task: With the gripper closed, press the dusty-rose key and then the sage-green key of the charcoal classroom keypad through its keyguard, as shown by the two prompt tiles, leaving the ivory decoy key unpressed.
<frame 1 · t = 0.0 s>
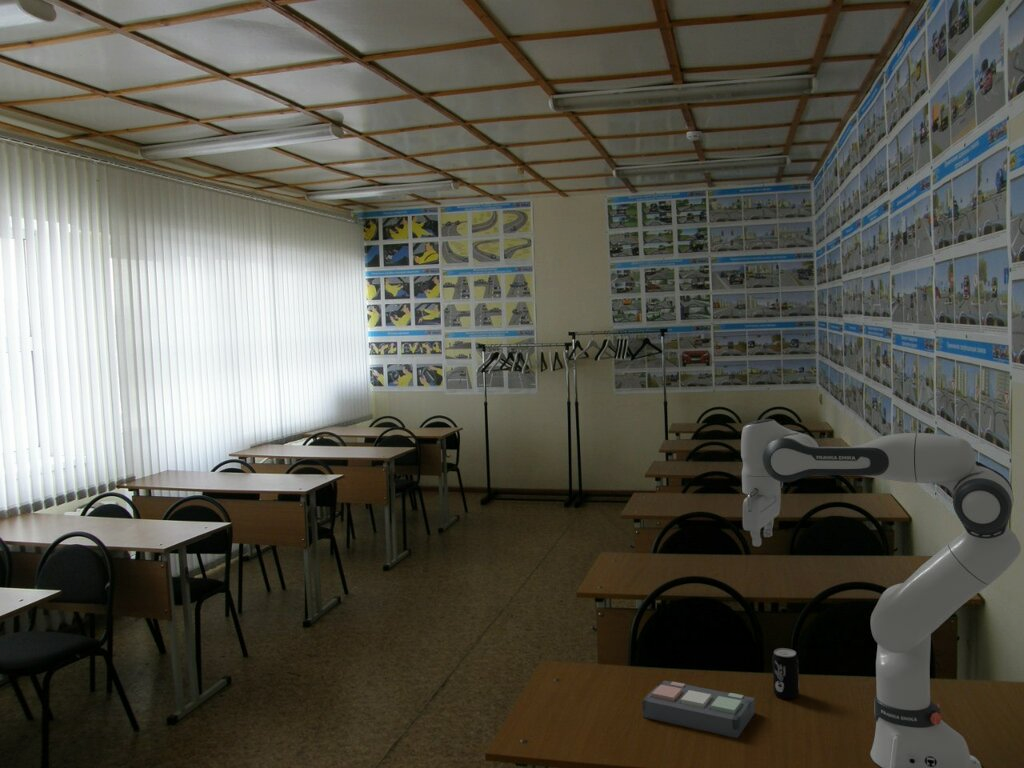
hand: (762, 541, 202), 48 cm above the table, fingers open, 8 cm apart
beverage can: (786, 695, 224), on the table
ivory key: (696, 700, 213), point 5 cm above the table, slide at 0.0 cm
sage key: (726, 706, 209), point 4 cm above the table, slide at 0.0 cm
rose key: (667, 694, 218), point 5 cm above the table, slide at 0.0 cm
keypad: (696, 717, 213), on the table
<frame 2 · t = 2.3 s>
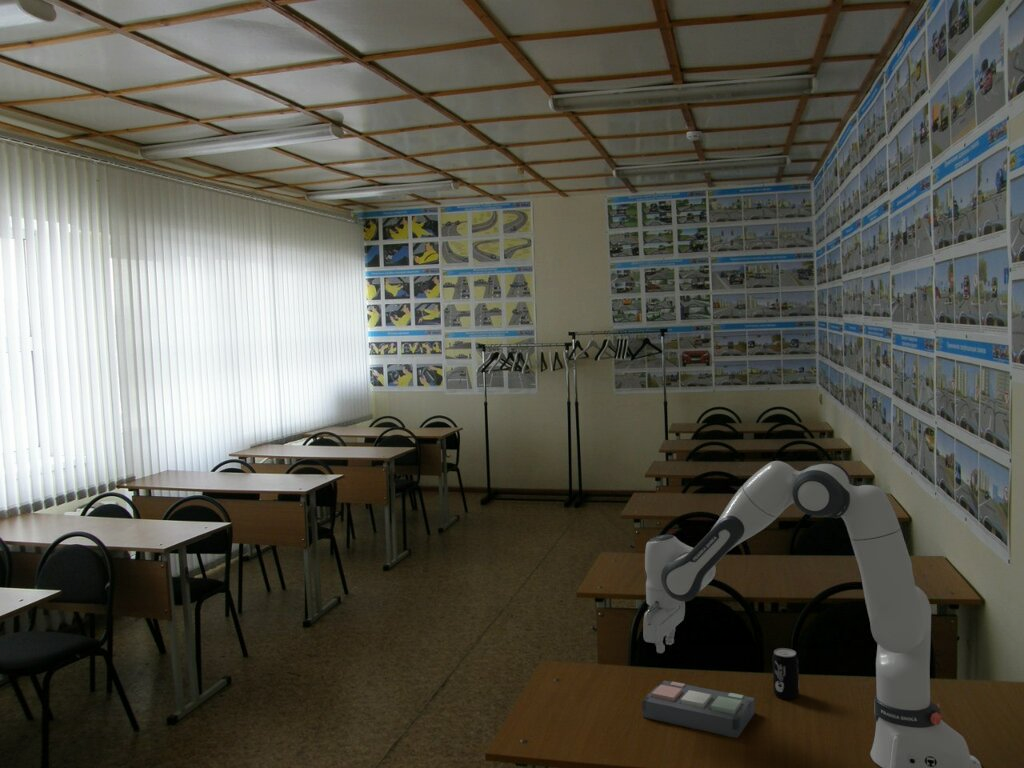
hand: (665, 647, 217), 17 cm above the table, fingers open, 5 cm apart
nothing on the table moved.
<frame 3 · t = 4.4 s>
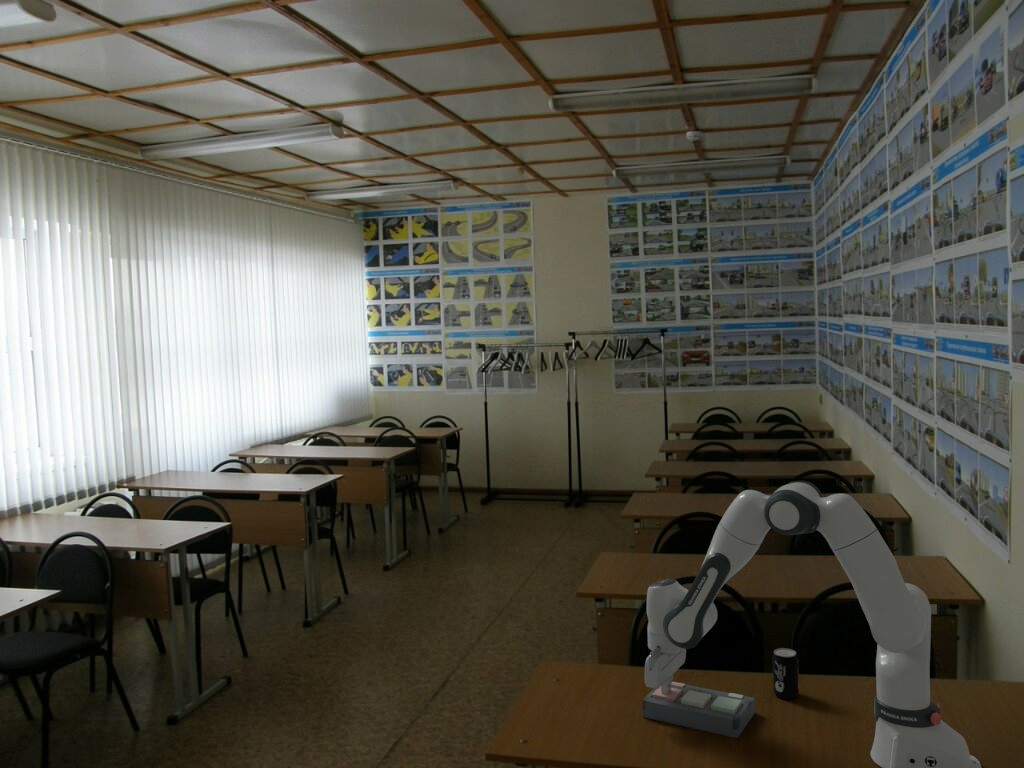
hand: (666, 691, 218), 5 cm above the table, fingers closed, pressing on rose key
rose key: (667, 695, 218), point 4 cm above the table, slide at 0.3 cm, touching gripper
everything else where it was.
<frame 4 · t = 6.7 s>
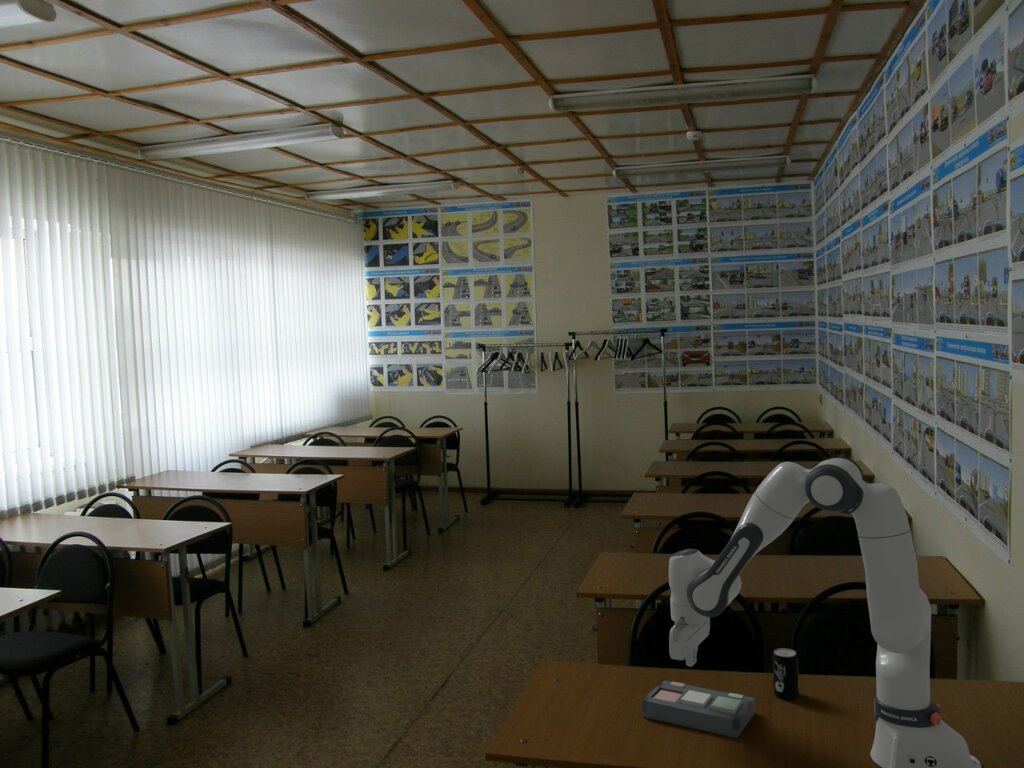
hand: (691, 664, 213), 14 cm above the table, fingers closed
rose key: (667, 700, 218), point 3 cm above the table, slide at 1.5 cm, touching keypad
everything else where it was.
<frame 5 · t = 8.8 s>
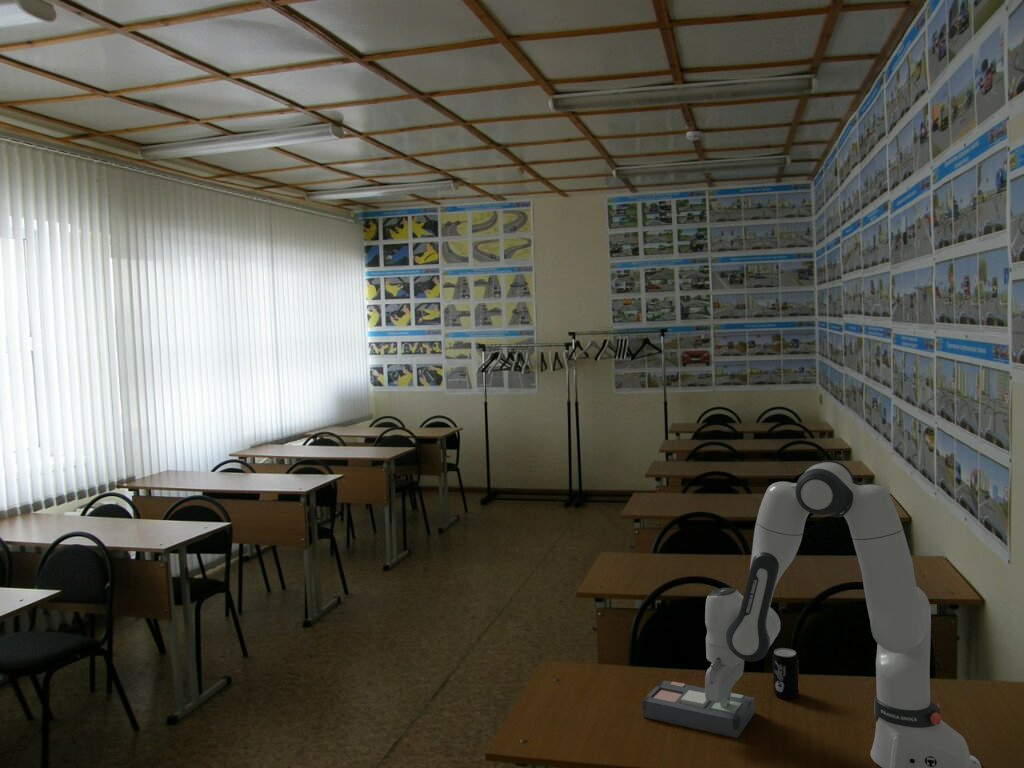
hand: (725, 705, 209), 5 cm above the table, fingers closed, pressing on sage key
sage key: (726, 709, 209), point 4 cm above the table, slide at 0.7 cm, touching gripper
everything else where it was.
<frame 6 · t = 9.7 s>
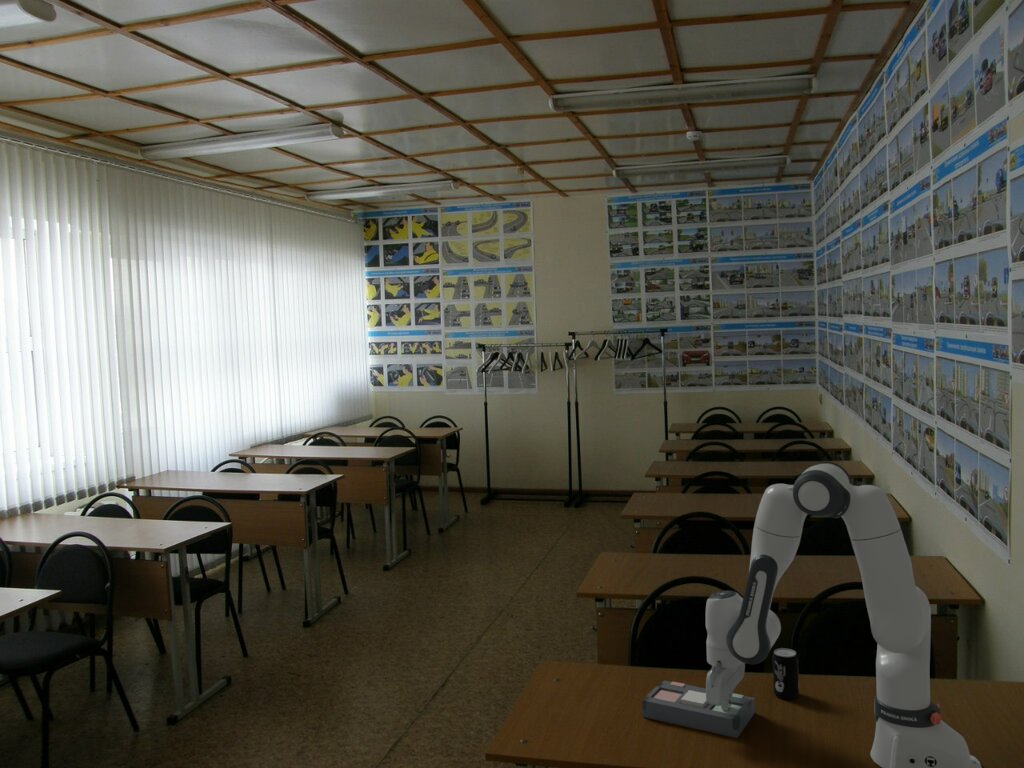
hand: (726, 708, 209), 4 cm above the table, fingers closed
sage key: (726, 712, 209), point 3 cm above the table, slide at 1.5 cm, touching keypad
everything else where it was.
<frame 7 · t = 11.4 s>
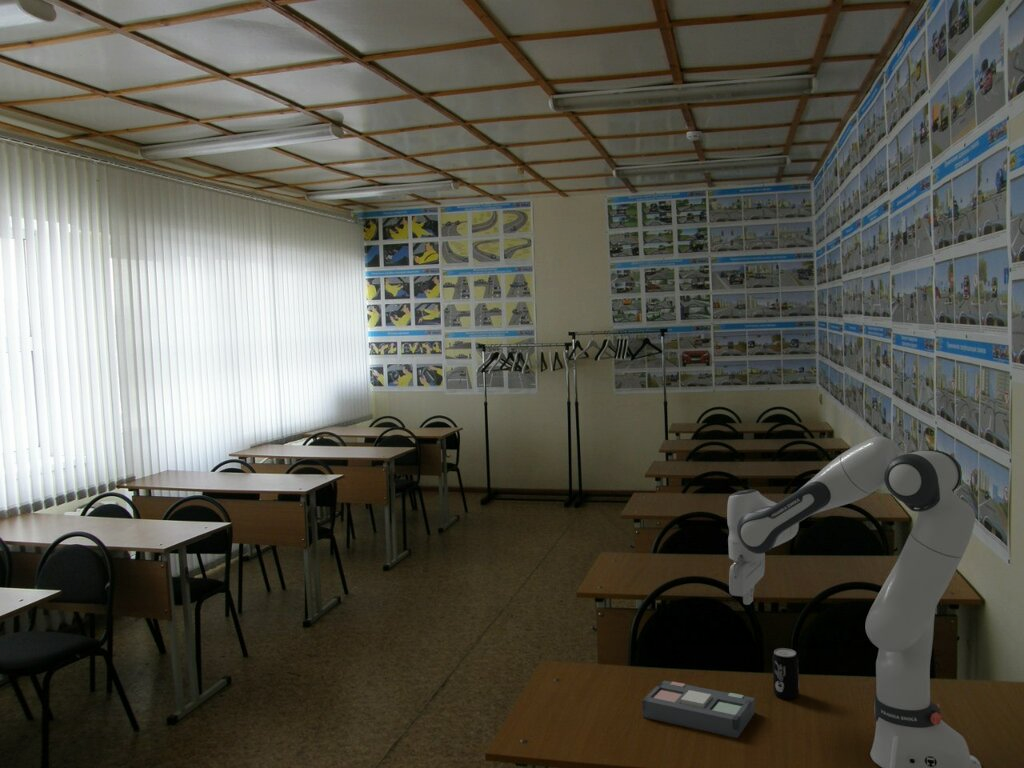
hand: (748, 602, 216), 28 cm above the table, fingers closed
nothing on the table moved.
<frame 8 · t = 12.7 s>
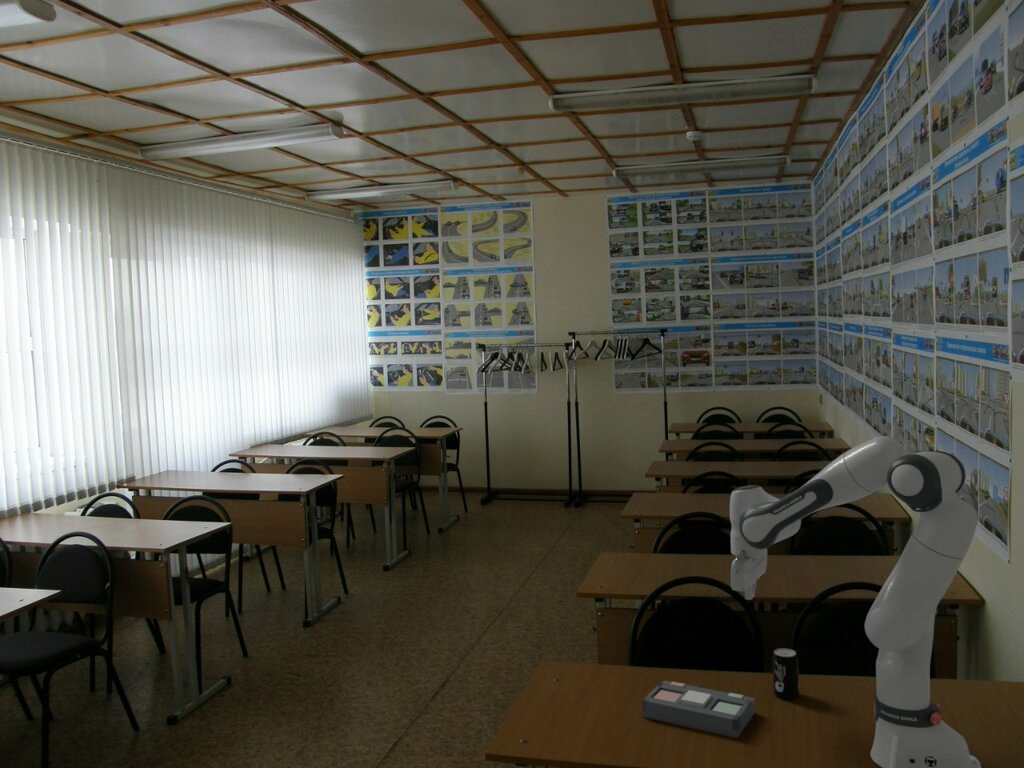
hand: (749, 598, 217), 29 cm above the table, fingers closed
nothing on the table moved.
at the end: rose key slide at 1.5 cm; sage key slide at 1.5 cm; ivory key slide at 0.0 cm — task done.
